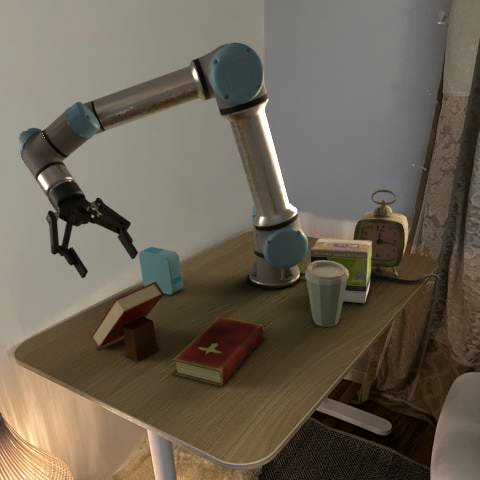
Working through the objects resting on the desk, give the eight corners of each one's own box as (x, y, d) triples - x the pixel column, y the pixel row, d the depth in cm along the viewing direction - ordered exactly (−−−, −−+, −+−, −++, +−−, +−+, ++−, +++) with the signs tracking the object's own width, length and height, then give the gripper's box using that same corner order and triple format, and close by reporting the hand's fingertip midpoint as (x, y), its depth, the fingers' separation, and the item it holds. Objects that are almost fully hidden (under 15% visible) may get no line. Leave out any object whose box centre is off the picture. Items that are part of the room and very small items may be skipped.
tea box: (369, 289, 146) (373, 239, 139) (365, 304, 138) (368, 252, 131) (317, 284, 151) (318, 236, 144) (309, 299, 143) (310, 248, 136)
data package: (183, 290, 153) (179, 252, 147) (173, 296, 150) (168, 257, 144) (153, 282, 159) (148, 245, 153) (143, 288, 156) (137, 250, 150)
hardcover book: (263, 339, 125) (263, 324, 123) (222, 386, 109) (221, 369, 107) (220, 330, 130) (219, 315, 128) (175, 374, 114) (172, 358, 112)
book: (164, 294, 117) (155, 281, 117) (124, 312, 110) (115, 298, 110) (135, 330, 132) (128, 318, 133) (99, 347, 125) (91, 336, 126)
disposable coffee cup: (352, 315, 133) (355, 261, 126) (339, 335, 125) (341, 278, 118) (313, 308, 138) (314, 256, 131) (298, 327, 130) (298, 271, 122)
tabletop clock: (351, 275, 156) (355, 192, 144) (357, 263, 163) (362, 184, 151) (401, 280, 150) (409, 195, 139) (405, 268, 158) (413, 186, 146)
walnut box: (157, 350, 124) (153, 320, 120) (137, 360, 120) (132, 331, 116) (147, 344, 126) (142, 315, 122) (127, 355, 122) (121, 325, 118)
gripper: (103, 188, 130) (148, 256, 128) (7, 213, 114) (58, 291, 112) (111, 169, 124) (159, 240, 122) (12, 192, 108) (65, 275, 106)
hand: (111, 265), depth 117 cm, fingers open, 13 cm apart
